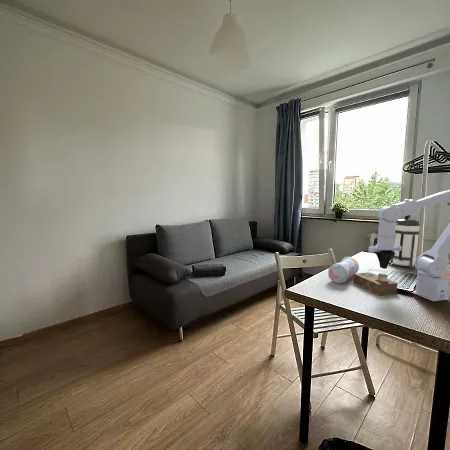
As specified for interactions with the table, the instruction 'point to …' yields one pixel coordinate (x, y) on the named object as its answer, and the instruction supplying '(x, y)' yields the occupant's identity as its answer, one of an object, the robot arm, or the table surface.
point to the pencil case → (343, 270)
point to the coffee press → (406, 242)
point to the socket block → (375, 284)
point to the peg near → (382, 278)
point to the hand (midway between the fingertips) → (383, 268)
